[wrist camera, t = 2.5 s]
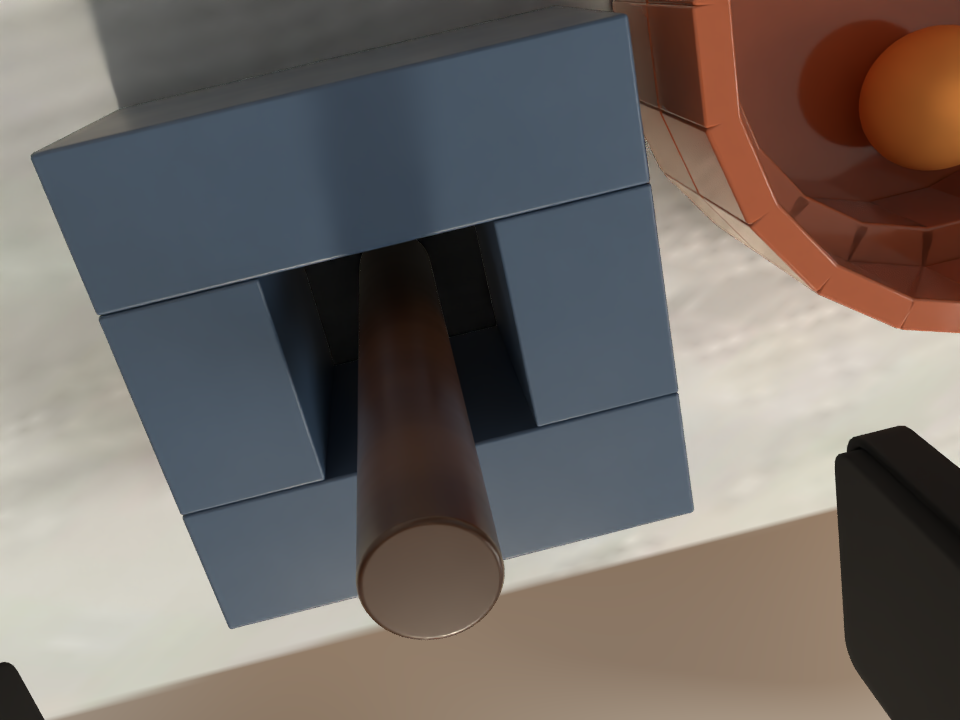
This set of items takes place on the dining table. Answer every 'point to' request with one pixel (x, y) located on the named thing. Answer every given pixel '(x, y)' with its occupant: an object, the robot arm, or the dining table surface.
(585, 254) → the holder
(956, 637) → the robot arm
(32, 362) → the dining table surface
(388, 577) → the stick
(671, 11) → the bowl
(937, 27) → the ball
